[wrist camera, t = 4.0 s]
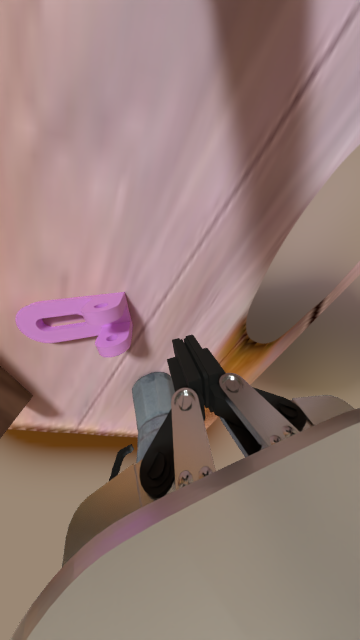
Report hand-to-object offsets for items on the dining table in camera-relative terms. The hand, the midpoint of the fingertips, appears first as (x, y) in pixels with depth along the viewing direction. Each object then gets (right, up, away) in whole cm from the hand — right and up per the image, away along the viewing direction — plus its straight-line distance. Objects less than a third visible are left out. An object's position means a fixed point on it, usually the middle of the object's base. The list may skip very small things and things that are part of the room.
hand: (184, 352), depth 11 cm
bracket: (-14, +3, +8) cm, 17 cm away
